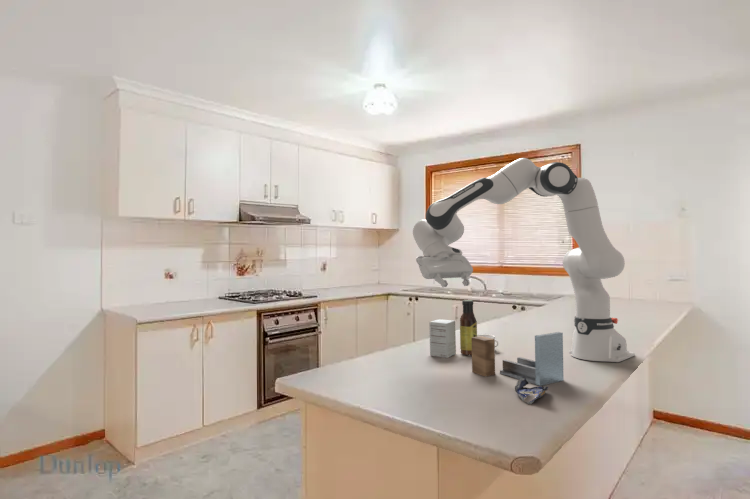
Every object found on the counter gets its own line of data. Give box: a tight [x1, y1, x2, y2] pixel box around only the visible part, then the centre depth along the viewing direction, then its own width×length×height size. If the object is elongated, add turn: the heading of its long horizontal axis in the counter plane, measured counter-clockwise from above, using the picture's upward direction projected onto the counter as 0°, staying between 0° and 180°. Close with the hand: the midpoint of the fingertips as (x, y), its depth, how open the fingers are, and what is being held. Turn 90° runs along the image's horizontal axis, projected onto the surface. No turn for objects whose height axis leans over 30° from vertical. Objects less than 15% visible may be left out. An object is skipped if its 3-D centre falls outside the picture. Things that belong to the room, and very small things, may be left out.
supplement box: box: [428, 318, 457, 359], centre depth 169 cm, size 7×7×13 cm
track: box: [499, 331, 565, 387], centre depth 138 cm, size 10×16×14 cm, turn 29°
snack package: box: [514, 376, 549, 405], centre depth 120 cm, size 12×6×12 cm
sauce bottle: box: [459, 299, 478, 356], centre depth 169 cm, size 7×6×20 cm
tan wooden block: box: [471, 336, 496, 378], centre depth 143 cm, size 4×6×11 cm, turn 29°
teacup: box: [477, 333, 499, 348], centre depth 175 cm, size 10×8×5 cm
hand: (456, 285), depth 153 cm, fingers open, 8 cm apart
